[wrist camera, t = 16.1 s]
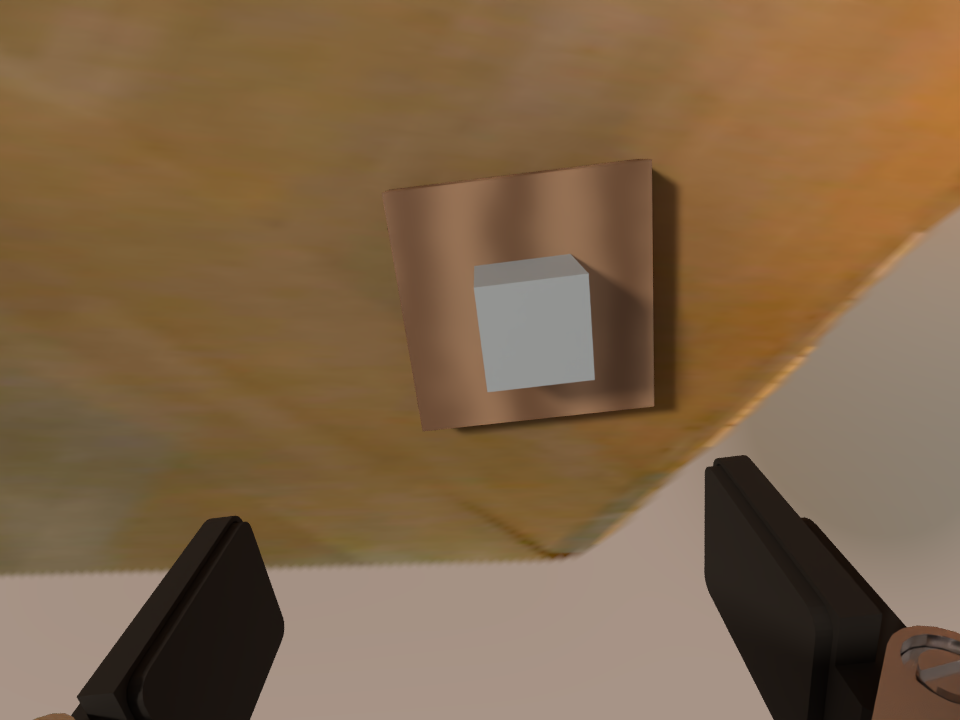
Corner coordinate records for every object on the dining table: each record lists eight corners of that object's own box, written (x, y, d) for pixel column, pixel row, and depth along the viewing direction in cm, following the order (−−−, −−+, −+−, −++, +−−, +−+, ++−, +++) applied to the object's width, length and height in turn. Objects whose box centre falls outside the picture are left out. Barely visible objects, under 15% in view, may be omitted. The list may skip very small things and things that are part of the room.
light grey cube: (570, 253, 34) (588, 273, 29) (576, 345, 37) (594, 379, 31) (474, 266, 35) (473, 287, 29) (486, 355, 37) (487, 392, 31)
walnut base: (637, 158, 35) (651, 159, 33) (642, 389, 41) (654, 406, 38) (389, 189, 36) (381, 192, 33) (426, 412, 42) (422, 431, 39)
